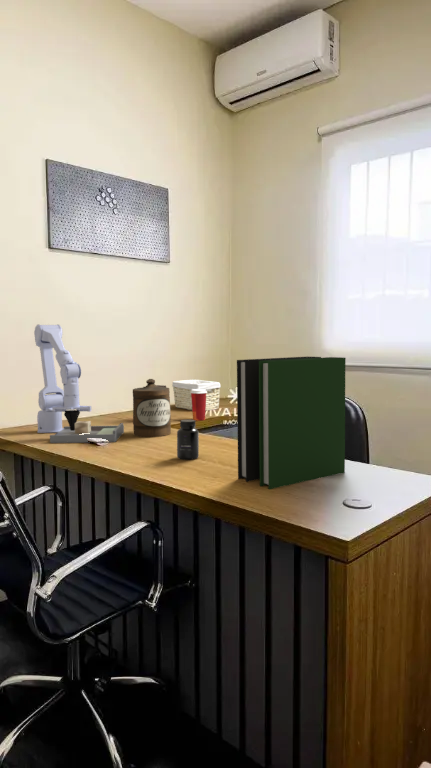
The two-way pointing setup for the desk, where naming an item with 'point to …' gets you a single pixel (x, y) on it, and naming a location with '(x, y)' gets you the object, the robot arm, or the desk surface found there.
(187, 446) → the supplement bottle
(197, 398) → the paper cup
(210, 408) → the storage basket
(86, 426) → the birch block
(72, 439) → the grey tray
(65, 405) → the robot arm
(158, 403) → the wooden container
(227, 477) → the desk surface
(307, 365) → the upright hardcover books
